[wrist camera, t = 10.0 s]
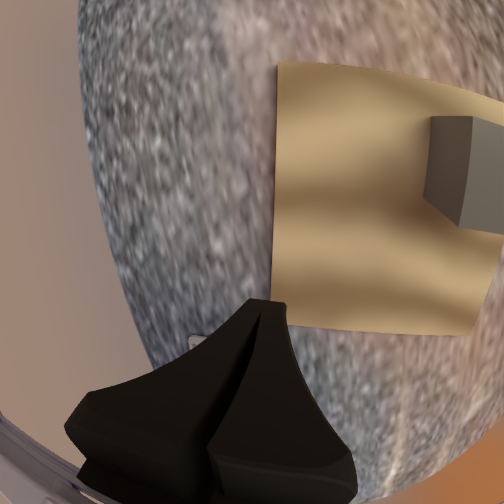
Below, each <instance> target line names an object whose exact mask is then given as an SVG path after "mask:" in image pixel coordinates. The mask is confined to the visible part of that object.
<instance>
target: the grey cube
mask: <svg viewBox="0 0 504 504" xmlns="http://www.w3.org/2000/svg"><path fill="white" fill-rule="evenodd" d="M423 198H424V199H425V200H426V201H428V202H429V203H430V204H431V205H433V206H434V207H435V208H436V209H437V210H439V211H440V212H441V213H442V214H443V215H445V216H446V217H447V218H448V219H449V220H450V221H452V222H453V223H454V224H455V225H456V226H457V227H459V228H465V229H472V230H478V231H484V232H489V233H495V234H501V235H504V126H501V125H498V124H496V123H493V122H490V121H487V120H484V119H481V118H477V117H474V116H431V129H430V142H429V153H428V162H427V171H426V179H425V186H424V193H423Z"/></svg>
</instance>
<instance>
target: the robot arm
mask: <svg viewBox="0 0 504 504" xmlns="http://www.w3.org/2000/svg"><path fill="white" fill-rule="evenodd" d="M286 311H287V305H286V304H285V303H284V302H276V301H268V300H260V299H252V298H250V299H248V300H247V301H246V302H245V303H244V304H243V305H242V306H241V307H240V308H239V309H238V310H237V311H236V312H235V313H234V314H233V315H232V316H231V317H230V318H229V319H228V320H227V321H226V322H225V323H224V324H222V325H221V326H220V327H219V328H218V329H217V330H216V331H215V332H213V333H212V334H211V335H210V336H208V337H203V336H198V335H191V336H190V337H189V339H188V341H189V348H190V351H188V352H187V353H185V354H183V355H182V356H180V357H179V358H177V359H175V360H173V361H172V362H170V363H168V364H166V365H164V366H162V367H160V368H158V369H156V370H154V371H152V372H150V373H147V374H145V375H143V376H140V377H138V378H135V379H132V380H130V381H127V382H124V383H121V384H118V385H115V386H111V387H107V388H103V389H100V390H96V391H91V392H88V393H87V394H86V396H85V397H84V398H83V399H82V401H81V402H80V403H79V404H78V406H77V407H76V408H75V410H74V411H73V413H72V414H71V416H70V417H69V418H68V420H67V422H66V423H65V424H64V428H65V431H66V434H67V435H68V437H69V438H70V440H71V441H72V442H73V443H74V445H75V446H76V447H77V448H78V449H79V450H80V452H81V453H82V454H83V455H84V456H85V457H86V458H87V460H86V461H85V463H84V464H83V466H82V468H81V469H80V468H78V467H76V466H75V465H73V464H71V463H69V462H68V461H66V460H64V459H63V458H61V457H60V456H58V455H56V454H55V453H53V452H51V451H50V450H49V449H47V448H46V447H44V446H43V445H41V444H39V443H38V442H37V441H35V440H34V439H33V438H31V437H30V436H28V435H27V434H25V433H24V432H23V431H21V430H20V429H19V428H18V427H16V426H15V425H14V424H12V423H11V422H10V421H9V420H7V419H6V418H5V417H4V416H3V415H2V413H1V412H0V493H1V494H2V495H3V496H4V497H5V499H6V500H7V501H9V503H10V504H97V503H95V502H93V501H92V500H90V499H88V498H87V497H85V496H84V495H82V494H81V493H80V491H82V492H84V493H85V494H87V495H89V496H91V497H92V498H95V499H96V500H98V501H100V502H102V503H104V504H349V503H350V502H351V501H352V500H353V499H354V498H355V496H356V494H357V492H358V483H357V474H356V469H355V465H354V461H353V457H352V454H351V451H350V450H349V448H348V447H347V446H346V445H345V444H344V442H343V441H342V440H341V439H340V437H339V436H338V435H337V433H336V432H335V431H334V429H333V428H332V426H331V425H330V424H329V422H328V421H327V419H326V418H325V416H324V415H323V413H322V411H321V410H320V408H319V406H318V405H317V403H316V401H315V399H314V398H313V396H312V394H311V392H310V390H309V388H308V386H307V384H306V382H305V380H304V378H303V375H302V373H301V371H300V368H299V365H298V363H297V360H296V357H295V354H294V351H293V348H292V344H291V340H290V336H289V332H288V326H287V319H286ZM194 344H195V345H194ZM79 490H80V491H79ZM499 504H504V501H503V502H501V503H499Z"/></svg>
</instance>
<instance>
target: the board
mask: <svg viewBox="0 0 504 504" xmlns="http://www.w3.org/2000/svg"><path fill="white" fill-rule="evenodd" d="M431 116H474V117H477V118H481V119H484V120H487V121H490V122H493V123H496V124H498V125H501V126H504V103H502V102H499V101H497V100H494V99H491V98H488V97H486V96H483V95H480V94H477V93H474V92H471V91H468V90H464V89H461V88H458V87H454V86H451V85H447V84H444V83H440V82H436V81H432V80H428V79H424V78H419V77H415V76H410V75H405V74H400V73H395V72H389V71H383V70H377V69H370V68H363V67H355V66H347V65H337V64H325V63H310V62H282V61H278V86H277V137H276V174H275V204H274V230H273V254H272V276H271V296H270V301H276V302H284V303H285V304H286V305H287V311H286V319H287V324H288V325H296V326H306V327H316V328H326V329H337V330H349V331H362V332H377V333H394V334H416V335H455V336H469V335H470V333H471V331H472V329H473V326H474V324H475V322H476V319H477V317H478V315H479V312H480V310H481V307H482V305H483V302H484V300H485V297H486V294H487V292H488V289H489V286H490V283H491V280H492V277H493V274H494V271H495V268H496V265H497V262H498V259H499V255H500V252H501V248H502V245H503V241H504V235H501V234H495V233H489V232H484V231H478V230H472V229H465V228H459V227H457V226H456V225H455V224H454V223H453V222H452V221H450V220H449V219H448V218H447V217H446V216H445V215H443V214H442V213H441V212H440V211H439V210H437V209H436V208H435V207H434V206H433V205H431V204H430V203H429V202H428V201H426V200H425V199H424V198H423V193H424V186H425V179H426V171H427V162H428V153H429V142H430V129H431Z"/></svg>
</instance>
